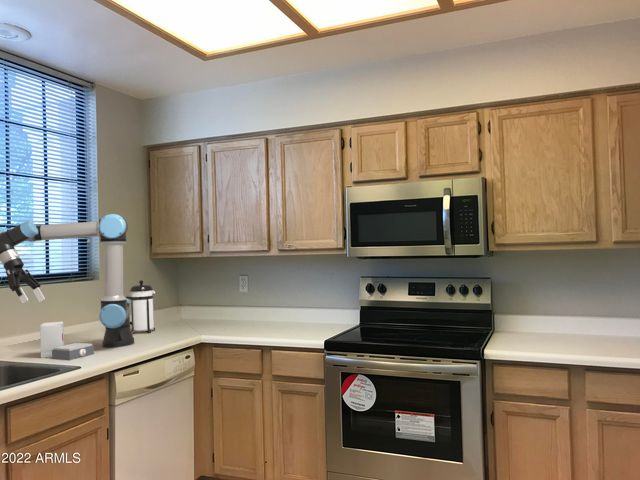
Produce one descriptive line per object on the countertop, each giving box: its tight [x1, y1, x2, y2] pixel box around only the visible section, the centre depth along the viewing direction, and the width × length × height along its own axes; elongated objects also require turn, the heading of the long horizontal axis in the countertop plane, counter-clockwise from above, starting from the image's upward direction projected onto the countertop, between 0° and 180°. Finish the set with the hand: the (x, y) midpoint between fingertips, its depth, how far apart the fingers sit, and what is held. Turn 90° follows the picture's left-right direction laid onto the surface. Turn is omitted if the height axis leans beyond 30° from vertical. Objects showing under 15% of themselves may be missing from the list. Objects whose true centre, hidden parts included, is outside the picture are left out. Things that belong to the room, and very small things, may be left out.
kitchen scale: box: [51, 342, 95, 361], centre depth 233 cm, size 13×12×5 cm
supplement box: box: [39, 321, 65, 359], centre depth 238 cm, size 9×9×15 cm
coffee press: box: [125, 279, 156, 335], centre depth 295 cm, size 17×16×30 cm
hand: (34, 301), depth 233 cm, fingers open, 13 cm apart
